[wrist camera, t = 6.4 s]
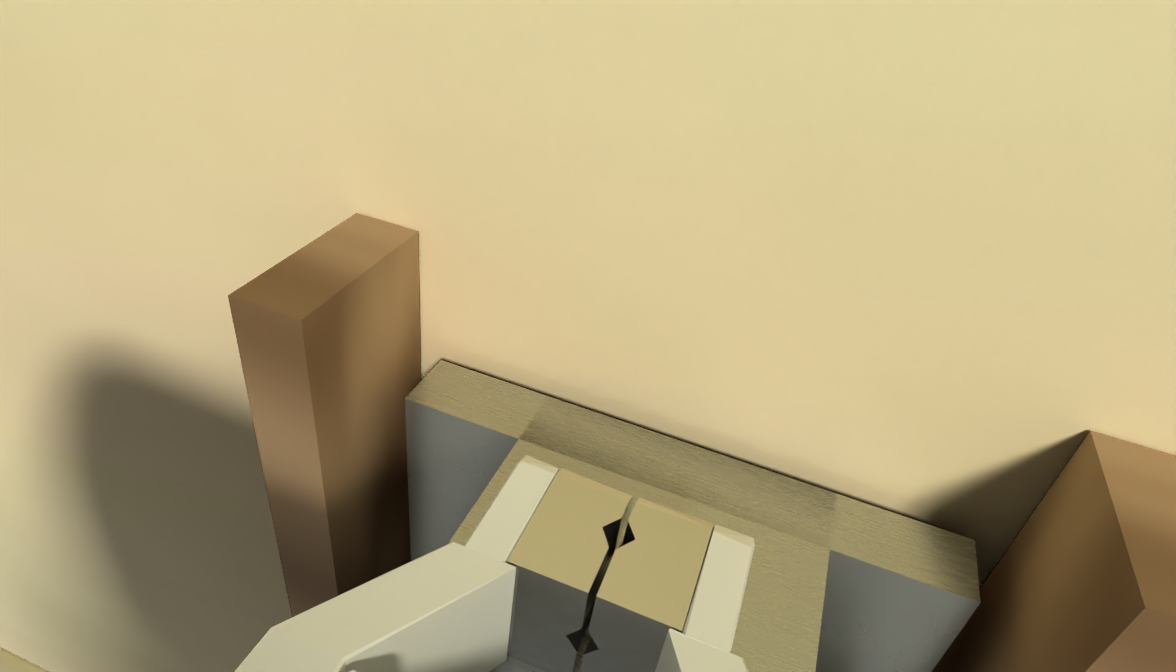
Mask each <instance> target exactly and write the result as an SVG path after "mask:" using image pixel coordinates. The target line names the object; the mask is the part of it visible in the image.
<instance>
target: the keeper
mask: <svg viewBox="0 0 1176 672" xmlns="http://www.w3.org/2000/svg"><path fill="white" fill-rule="evenodd" d="M405 416H406V443H407V470H408V497H409V524H410V551H411V561H413V560H415V559H417V558H419V557H421V556H423V555H425V554H428V553H430V552H432V551H434V550H436V549H438V548H440V547H442V546H445V545H447V544H449V543H451V542H455V543H458V544H461V545H464V544H465V542H466V541H467V539H468V538H469V536H470V535H471V533H472V532H473V530H474V528H475V527H476V525H477V524H478V522H479V521H480V519H481V518H482V516H483V515H484V513H485V512H486V510H487V508H488V507H489V505H490V504H491V502H492V501H493V499H494V498H495V496H496V495H497V493H498V492H499V490H500V488H501V487H502V485H503V484H504V482H505V481H506V479H507V478H508V476H509V475H510V473H511V472H512V470H513V468H514V467H515V465H516V464H517V462H519V461H520V460H521V459H522V458H523V457H525V456H526V455H528V456H530V457H533V458H535V459H538V460H541V461H543V462H546V463H548V464H551V465H554V466H556V467H559V468H561V469H562V468H563V469H565V470H568V471H570V472H573V473H575V474H578V475H581V476H583V477H586V478H588V479H591V480H593V481H596V482H598V483H601V484H603V485H606V486H609V487H611V488H614V489H616V490H619V491H621V492H624V493H626V494H629V495H631V496H633V503H632V508H631V512H630V515H631V513H632V510H633V508H634V506H635V504H636V502H637V500H638V499H639V498H643V499H646V500H648V501H651V502H654V503H657V504H660V505H663V506H665V507H668V508H671V509H674V510H677V511H680V512H683V513H685V514H688V515H691V516H694V517H697V518H700V519H703V520H705V521H708V522H711V523H714V524H713V527H714V525H715V524H716V525H718V526H721V527H724V528H727V529H730V530H732V531H735V532H738V533H741V534H744V535H746V536H749V537H752V538H754V544H755V547H754V551H753V556H752V560H751V564H750V569H749V573H748V578H747V582H746V587H745V591H744V596H743V600H742V604H741V609H740V613H739V618H738V622H737V627H736V631H735V635H734V640H733V644H732V649H731V653H733V654H735V655H737V656H740V657H742V658H743V659H744V662H745V665H746V667H747V670H748V672H932V670H933V669H934V668H935V666H936V665H937V663H938V662H939V661H940V659H941V658H942V656H943V655H944V654H945V652H946V651H947V649H948V648H949V647H950V645H951V644H952V642H953V641H954V639H955V638H956V637H957V635H958V634H959V632H960V631H961V630H962V628H963V627H964V625H965V624H966V623H967V621H968V620H969V618H970V617H971V616H972V614H973V613H974V611H975V610H976V609H977V607H978V606H979V604H980V603H981V602H980V591H979V580H978V569H977V558H976V547H975V540H973V539H970V538H967V537H964V536H961V535H958V534H955V533H952V532H949V531H946V530H943V529H940V528H937V527H934V526H931V525H928V524H925V523H923V522H920V521H917V520H914V519H911V518H908V517H905V516H902V515H899V514H896V513H893V512H890V511H887V510H884V509H881V508H878V507H875V506H872V505H869V504H866V503H863V502H860V501H857V500H854V499H851V498H848V497H846V496H843V495H840V494H837V493H834V492H831V491H828V490H825V489H822V488H819V487H816V486H813V485H810V484H807V483H804V482H801V481H798V480H795V479H792V478H789V477H786V476H783V475H780V474H777V473H774V472H771V471H769V470H766V469H763V468H760V467H757V466H754V465H751V464H748V463H745V462H742V461H739V460H736V459H733V458H730V457H727V456H724V455H721V454H718V453H715V452H712V451H709V450H706V449H703V448H700V447H697V446H694V445H692V444H689V443H686V442H683V441H680V440H677V439H674V438H671V437H668V436H665V435H662V434H659V433H656V432H653V431H650V430H647V429H644V428H641V427H638V426H635V425H632V424H629V423H626V422H623V421H620V420H617V419H615V418H612V417H609V416H606V415H603V414H600V413H597V412H594V411H591V410H588V409H585V408H582V407H579V406H576V405H573V404H570V403H567V402H564V401H561V400H558V399H555V398H552V397H549V396H546V395H543V394H540V393H538V392H535V391H532V390H529V389H526V388H523V387H520V386H517V385H514V384H511V383H508V382H505V381H502V380H499V379H496V378H493V377H490V376H487V375H484V374H481V373H478V372H475V371H472V370H469V369H466V368H463V367H461V366H458V365H455V364H452V363H449V362H446V361H443V360H440V361H439V363H438V364H437V365H436V366H435V367H434V368H433V369H432V370H431V371H430V372H429V373H428V374H427V375H426V376H425V377H424V379H423V380H422V381H421V382H420V383H419V384H418V385H417V386H416V387H415V388H414V389H413V390H412V391H411V392H410V393H409V395H408V396H407V397H406V398H405ZM629 517H630V516H629ZM627 523H628V521H627ZM626 527H627V524H626V526H625V528H624V531H623V533H622V534H623V536H624V535H625V531H626ZM590 637H591V635H590V636H589V639H590ZM589 639H588V641H587V644H588V642H589ZM587 644H586V646H585V648H584V651H583V653H582V655H581V658H580V660H579V663H578V665H577V667H576V670H575V672H580V669H581V664H582V659H583V654H584V652H585V649H586V647H587ZM489 672H546V671H543V670H541V669H538V668H536V667H533V666H531V665H528V664H526V663H523V662H521V661H519V660H516V659H514V658H511V657H509V656H507V659H506V661H504V662H503V663H501V664H500V665H498V666H497V667H495V668H494V669H492V670H491V671H489Z"/></svg>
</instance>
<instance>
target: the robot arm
mask: <svg viewBox="0 0 1176 672" xmlns="http://www.w3.org/2000/svg"><path fill="white" fill-rule="evenodd" d="M632 503H633V496H631V495H629V494H626V493H624V492H621V491H619V490H616V489H614V488H611V487H609V486H606V485H603V484H601V483H598V482H596V481H593V480H591V479H588V478H586V477H583V476H581V475H578V474H575V473H573V472H570V471H568V470H565V469H563V468H562V469H561V468H559V467H556V466H554V465H551V464H548V463H546V462H543V461H541V460H538V459H535V458H533V457H530V456H528V455H526V456H525V457H523V458H522V459H521V460H520V461H519V462H517V464H516V465H515V467H514V468H513V470H512V472H511V473H510V475H509V476H508V478H507V479H506V481H505V482H504V484H503V485H502V487H501V488H500V490H499V492H498V493H497V495H496V496H495V498H494V499H493V501H492V502H491V504H490V505H489V507H488V508H487V510H486V512H485V513H484V515H483V516H482V518H481V519H480V521H479V522H478V524H477V525H476V527H475V528H474V530H473V532H472V533H471V535H470V536H469V538H468V539H467V541H466V542H465V544H464V545H461V544H458V543H455V542H451V543H449V544H447V545H445V546H442V547H440V548H438V549H436V550H434V551H432V552H430V553H428V554H425V555H423V556H421V557H419V558H417V559H415V560H413V561H411V562H409V563H406V564H404V565H402V566H400V567H398V568H396V569H394V570H392V571H389V572H387V573H385V574H383V575H381V576H379V577H377V578H375V579H373V580H370V581H368V582H366V583H364V584H362V585H360V586H358V587H356V588H354V589H351V590H349V591H347V592H345V593H343V594H341V595H339V596H337V597H334V598H332V599H330V600H328V601H326V602H324V603H322V604H320V605H318V606H315V607H313V608H311V609H309V610H307V611H305V612H303V613H301V614H298V615H296V616H294V617H292V618H290V619H288V620H286V621H284V622H282V623H279V624H277V625H275V626H273V627H271V628H270V629H269V631H268V632H267V633H266V634H265V635H264V637H263V638H262V639H261V640H260V641H259V643H258V644H257V645H256V646H255V647H254V649H253V650H252V651H251V652H250V653H249V655H248V656H247V657H246V658H245V659H244V661H243V662H242V663H241V664H240V665H239V667H238V668H237V669H236V670H235V671H234V672H489V671H491V670H492V669H494V668H495V667H497V666H498V665H500V664H501V663H503V662H504V661H506V659H507V656H509V657H511V658H514V659H516V660H519V661H521V662H523V663H526V664H528V665H531V666H533V667H536V668H538V669H541V670H543V671H546V672H575V670H576V667H577V665H578V663H579V660H580V658H581V655H582V653H583V651H584V648H585V646H586V644H587V641H588V639H589V636H590V635H591V637H590V639H589V642H588V644H587V647H586V649H585V652H584V654H583V659H582V664H581V669H580V672H748V670H747V667H746V665H745V662H744V659H743V658H742V657H740V656H737V655H735V654H733V653H731V649H732V644H733V640H734V635H735V631H736V627H737V622H738V618H739V613H740V609H741V604H742V600H743V596H744V591H745V587H746V582H747V578H748V573H749V569H750V564H751V560H752V556H753V551H754V547H755V544H754V538H752V537H749V536H746V535H744V534H741V533H738V532H735V531H732V530H730V529H727V528H724V527H721V526H718V525H716V524H715V525H714V527H713V524H714V523H711V522H708V521H705V520H703V519H700V518H697V517H694V516H691V515H688V514H685V513H683V512H680V511H677V510H674V509H671V508H668V507H665V506H663V505H660V504H657V503H654V502H651V501H648V500H646V499H643V498H639V499H638V500H637V502H636V504H635V506H634V508H633V510H632V513H631V515H630V512H631V508H632ZM629 516H630V517H629ZM627 521H628V523H627ZM626 524H627V527H626V531H625V535H624V536H623V534H622V533H623V531H624V528H625V526H626ZM0 672H48V671H47V670H45V669H43V668H41V667H39V666H37V665H35V664H33V663H31V662H29V661H27V660H25V659H23V658H21V657H19V656H17V655H15V654H13V653H11V652H9V651H7V650H5V649H4V648H2V647H0Z"/></svg>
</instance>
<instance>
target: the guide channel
mask: <svg viewBox="0 0 1176 672" xmlns="http://www.w3.org/2000/svg"><path fill="white" fill-rule="evenodd" d="M228 298H229V303H230V308H231V313H232V318H233V323H234V328H235V333H236V338H237V343H238V348H239V353H240V358H241V363H242V368H243V373H244V378H245V383H246V388H247V393H248V398H249V403H250V408H251V413H252V418H253V423H254V428H255V433H256V438H257V443H258V448H259V453H260V458H261V463H262V468H263V473H264V478H265V483H266V488H267V493H268V498H269V503H270V508H271V513H272V518H273V523H274V528H275V533H276V538H277V543H278V548H279V553H280V558H281V563H282V568H283V573H284V578H285V583H286V588H287V593H288V598H289V603H290V608H291V613H292V617H294V616H296V615H298V614H301V613H303V612H305V611H307V610H309V609H311V608H313V607H315V606H318V605H320V604H322V603H324V602H326V601H328V600H330V599H332V598H334V597H337V596H339V595H341V594H343V593H345V592H347V591H349V590H351V589H354V588H356V587H358V586H360V585H362V584H364V583H366V582H368V581H370V580H373V579H375V578H377V577H379V576H381V575H383V574H385V573H387V572H389V571H392V570H394V569H396V568H398V567H400V566H402V565H404V564H406V563H409V562H411V551H410V524H409V497H408V470H407V443H406V416H405V398H406V397H407V396H408V395H409V393H410V392H411V391H412V390H413V389H414V388H415V387H416V386H417V385H418V384H419V383H420V382H421V343H420V293H419V242H418V231H415V230H412V229H408V228H405V227H402V226H398V225H395V224H391V223H388V222H385V221H381V220H378V219H375V218H371V217H368V216H364V215H361V214H358V213H356V214H354V215H353V216H351V217H350V218H348V219H347V220H345V221H344V222H342V223H340V224H339V225H337V226H336V227H334V228H333V229H331V230H330V231H328V232H326V233H325V234H323V235H322V236H320V237H319V238H317V239H315V240H314V241H312V242H311V243H309V244H308V245H306V246H305V247H303V248H301V249H300V250H298V251H297V252H295V253H294V254H292V255H290V256H289V257H287V258H286V259H284V260H283V261H281V262H280V263H278V264H276V265H275V266H273V267H272V268H270V269H269V270H267V271H266V272H264V273H262V274H261V275H259V276H258V277H256V278H255V279H253V280H251V281H250V282H248V283H247V284H245V285H244V286H242V287H241V288H239V289H237V290H236V291H234V292H233V293H231V294H230V295H228ZM979 591H980V602H981V603H980V604H979V606H978V607H977V609H976V610H975V611H974V613H973V614H972V616H971V617H970V618H969V620H968V621H967V623H966V624H965V625H964V627H963V628H962V630H961V631H960V632H959V634H958V635H957V637H956V638H955V639H954V641H953V642H952V644H951V645H950V647H949V648H948V649H947V651H946V652H945V654H944V655H943V656H942V658H941V659H940V661H939V662H938V663H937V665H936V666H935V668H934V669H933V670H932V672H1176V456H1174V455H1171V454H1168V453H1164V452H1161V451H1157V450H1154V449H1151V448H1147V447H1144V446H1141V445H1137V444H1134V443H1130V442H1127V441H1124V440H1120V439H1117V438H1114V437H1110V436H1107V435H1103V434H1100V433H1097V432H1093V431H1090V432H1089V434H1088V435H1087V436H1086V438H1085V439H1084V441H1083V442H1082V444H1081V445H1080V446H1079V448H1078V449H1077V451H1076V452H1075V454H1074V455H1073V456H1072V458H1071V459H1070V461H1069V462H1068V464H1067V465H1066V466H1065V468H1064V469H1063V471H1062V472H1061V474H1060V475H1059V477H1058V478H1057V479H1056V481H1055V482H1054V484H1053V485H1052V487H1051V488H1050V489H1049V491H1048V492H1047V494H1046V495H1045V497H1044V498H1043V499H1042V501H1041V502H1040V504H1039V505H1038V507H1037V508H1036V509H1035V511H1034V512H1033V514H1032V515H1031V517H1030V518H1029V519H1028V521H1027V522H1026V524H1025V525H1024V527H1023V528H1022V529H1021V531H1020V532H1019V534H1018V535H1017V537H1016V538H1015V539H1014V541H1013V542H1012V544H1011V545H1010V547H1009V548H1008V550H1007V551H1006V552H1005V554H1004V555H1003V557H1002V558H1001V560H1000V561H999V562H998V564H997V565H996V567H995V568H994V570H993V571H992V572H991V574H990V575H989V577H988V578H987V580H986V581H985V582H984V584H983V585H982V587H981V588H980V590H979Z"/></svg>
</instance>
